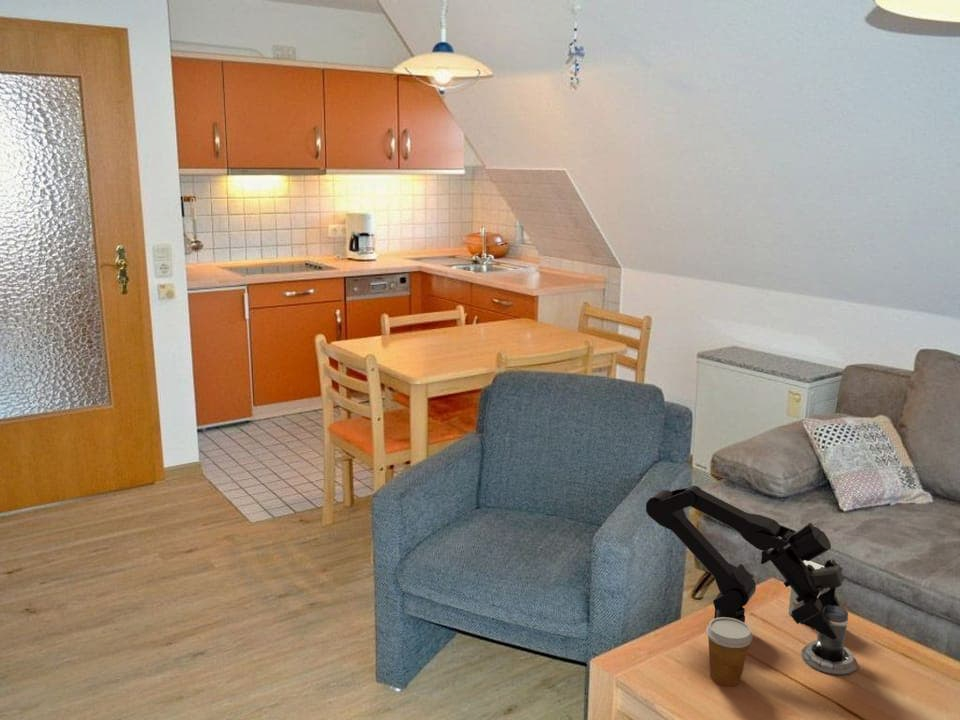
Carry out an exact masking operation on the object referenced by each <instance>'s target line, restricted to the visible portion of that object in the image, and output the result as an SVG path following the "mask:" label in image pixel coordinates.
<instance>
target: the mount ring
mask: <svg viewBox="0 0 960 720" xmlns="http://www.w3.org/2000/svg"><path fill="white" fill-rule="evenodd" d="M816 645H817V639H816V640H813V641H811V642H808V643H807V645H806V646H804V647H803V648H802V650H801V654H800V655H801V658H803V659H802V660H803V661H804V662H806V663H805V664H807V665H808V666H809V667H810V668H812V669H814V670H816V671H819V672H821V673H823V674H827V675H831V676H847V675H852V674H853V673H855V672H856V671H857V668H858V661H857V659H856V658H855V656H854V654H853V652H851V650H850V649H849V648H847V647H845V646H844V651H843V658H842V662H831V661H828V660H824V659H822V658H820V657H818V656H816V655H815V654H816Z"/></svg>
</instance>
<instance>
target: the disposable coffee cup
mask: <svg viewBox="0 0 960 720" xmlns="http://www.w3.org/2000/svg"><path fill="white" fill-rule="evenodd" d="M705 630H706V634H707V638H708V652H709V653H708V659H709V678H710V679H711V680H712V681H713V682H714V683H716V684H718V685H720V686H725V687H734V686H735V687H736V686H737V685H739V684H740V683H741V679H742V675H743V670H744V667H745V663H746V660H747V659H746V658H747V654H748V651H749V646H750V644H751V642H752V641H753V639H754V636H753V634H752V632H751V631H752V630H751V628H750V627H749V625H748V624H746V622H745V623H744V622H742V621H740V620H737V619H734V618H727V617H719V618H715V619H714V618H713V619H711V620H710V621H709V623H708V625H707V626H706V629H705Z"/></svg>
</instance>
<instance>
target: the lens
mask: <svg viewBox="0 0 960 720" xmlns="http://www.w3.org/2000/svg"><path fill="white" fill-rule="evenodd" d="M824 606H825V613H824V615H825V617H826V619H827V621H828V622H829V624H830V625H831V627H832V629H833V630H834V632H835V634H836V636H837V638H836V639H834V640H833V639H831V638H829V637H827V636H825V635H824V634H822V633H820V632H818V631H817V638H816V640H817V645H816V654H815V655H816V656H818V657H820V658H822V659H824V660H828V661H831V662H842V658H843V651H844V647H845V641H846V633H847V626H848V624H849V611H847V609H845V608H843V607H842V606H841V607H839V606H835V605H824ZM824 606H823V607H824ZM823 607H822V608H823Z"/></svg>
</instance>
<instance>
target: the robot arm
mask: <svg viewBox="0 0 960 720" xmlns="http://www.w3.org/2000/svg"><path fill="white" fill-rule="evenodd" d="M688 507H691V508H694V509H695V510H697V511H699V512H701V513H703V514H705V515H707V516H708V517H711V519H712V518H713V519H714V520H716V521H718V522H720V523H722V524H723V525H725V526H728V527H729V528H731V529H733V530H735V531H736V532H738V533H739V534H740V535H741V537H742V538H743V540H744V541H746V542H747V543H748V544H749V545H751V546H752V547H754V548H755V549H757V550H759V551H761V559H760V564H761V565H765V564H766V563H768V562H771V564H772V565H773V566H774V568H775V569H776V570H777V572H779V573H780V575H781V576H782V577H783V579H784V582H783V585H784V586H785V588H788V587H790V589H791V588H792V589H793V591H794V592H795V593H796V595H797V598H796V600H797V602H798V604H796V605H795V607H794V609H793V610H792V614H791V615H790V617H791V618H792V620H793V621H794V622H795V623H796V624H797V625H799V624H800V625H805V626H806V627H809V628H811V629H813V630H815V631H817V633H818V632H820V633H822V634H824V635H825V636H827V637H829V638H831V639H833V640H834V639H836V638H837V636H836V634H835V632H834V630H833V629H832V627H831V625H830V624H829V622H828V621H827V619H826V617H825V615H824V613H825V606H824V605H835V606H839V607H841V608H842V606H841V605H840V601H839V600H838V597H837V588H840V587H841V586H842V585H843V584H842V583H843V582H844V581H845V578H844V576H843V573H842V572H843V568H842V566H840V564H838V563H837V561H835V560H834V559H827V560H826V561H825V562H824V565H823V566H824V568H823V567H821V568H820V569H814V567H813V566H812V565H810V564H808V565H807V566H806V565H805V563H804V562H803V561H804V560H806V561H812V560H814V559H815V558H817V557H819V556H821V555H822V554H824V553H826V552H828V551H830V550H831V549H832V545H831V541H830V539H829V538H828V536H827V534H826V532H824V531H822V530H821V528H819V527H818V526H814V525H813V524H812V522H808V523H807V524H805V525H804V527H803V526H802V528H800V529H798V530H795V529H792V528H789V527H786V526H784V525H781V524H779V522H778V521H776V519H773V518H771V517H768V516H765V515H762V514H757V513H750V512H746V511H744V510H742V509H740V508H738V507H736V506H734V505H732V504H731V503H728V502H726V501H724V500H723V499H720V498H718V497H717V496H715V495H713V494H712V493H711V494H710V493H709V492H707V491H705V490H703V489H702V488H700V486H698V485H690V486H688V487H685V488H678V489H674V490H669V489H666V490H665V489H664V490H663V489H662V490H660V491H658V492H657V493H655V494H654V495H652V497H650V498H649V499H648V500H647V502H646V504H645V512H646V514H647V515H648V517H649V518H651V519H652V520H653V521H655V523H656V524H658V526H660V527H663V528H665V529H667V530H669V531H671V532H672V533H673V534H674V535H675V536H676V537H677V538H678V539H679V540H680V541H681V542H682V544H683V545H684V546H685V547H686V548H687V549H688V550H689V552H691V554H692V555H693V556H694V557H695V558H696V559H697V560H698V561H699V562H700V563H701V564H702V566H703V567H705V569H706V570H707V571H708V572H709V574H711V576H713V578H714V580H715V584H716V585H717V589H718V591H719V593H718V594H717V596H715V598H714V599H713V600H712V603H713V606H714V617H713V619H715V618H719V617H727V618H734V619H737V620H740V621H742V622H744V623H745V624H746V621H745V620H746V616H745V610H746V608H745V606H746V605H747V604H748V603H749V602H750V600H751V599H752V597H753V596H754V594H756V590H757V583H756V581H755V580H754V575H753V574H751V573H750V572H748V570H747V569H746V567H745V566H744V565H743V564H742V563H739V565H738V566H736V565H733V564H731V563H729V562H728V561H727V560H726V559H725V558H724V556H723V555H722V554H721V553H720V552H719V551H718V550H717V549H716V548H715V546H714V545H712V543H710V541H709V540H708V539H707V538H706V537H705V536H704V535H703V534H702V533H701V532H700V531H699V530H698V528H697V527H696V526H695V525H694V524H693V523H692V522H691V521H690V519H689V518H688V517H687V515H686V512H685V508H688ZM801 601H802V602H801ZM799 602H800V603H799ZM823 606H824V607H823ZM822 607H823V608H822Z"/></svg>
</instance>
